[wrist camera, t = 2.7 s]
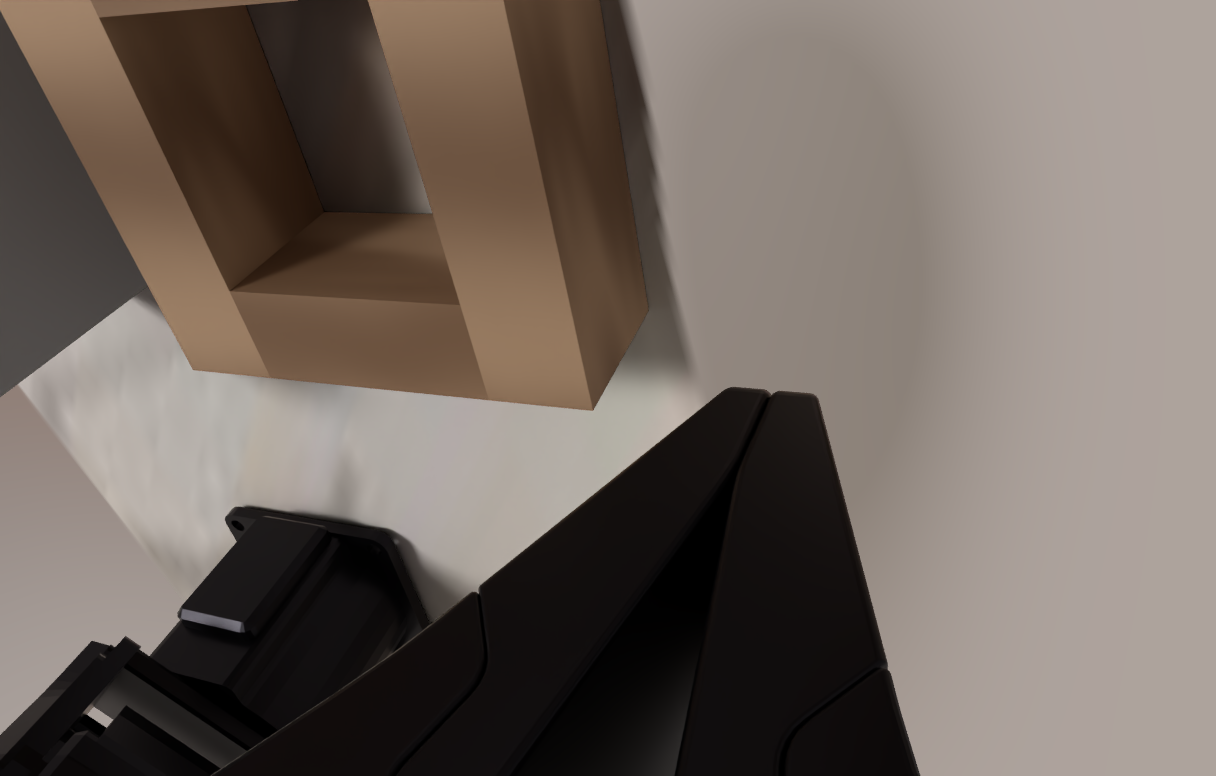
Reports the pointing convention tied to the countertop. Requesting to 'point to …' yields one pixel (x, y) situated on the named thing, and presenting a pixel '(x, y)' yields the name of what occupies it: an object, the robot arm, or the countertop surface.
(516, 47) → the socket block
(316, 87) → the countertop surface
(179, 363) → the countertop surface
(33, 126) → the backstop wall
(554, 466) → the countertop surface
